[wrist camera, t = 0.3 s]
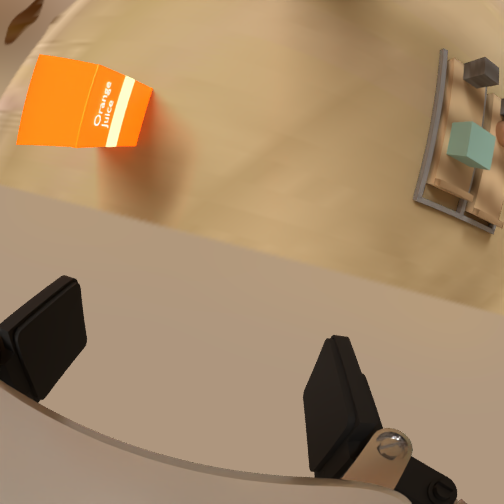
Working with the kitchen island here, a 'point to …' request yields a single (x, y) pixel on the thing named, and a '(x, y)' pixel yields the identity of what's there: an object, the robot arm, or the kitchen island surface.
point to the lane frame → (430, 150)
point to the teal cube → (471, 145)
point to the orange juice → (81, 106)
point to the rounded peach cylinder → (500, 132)
